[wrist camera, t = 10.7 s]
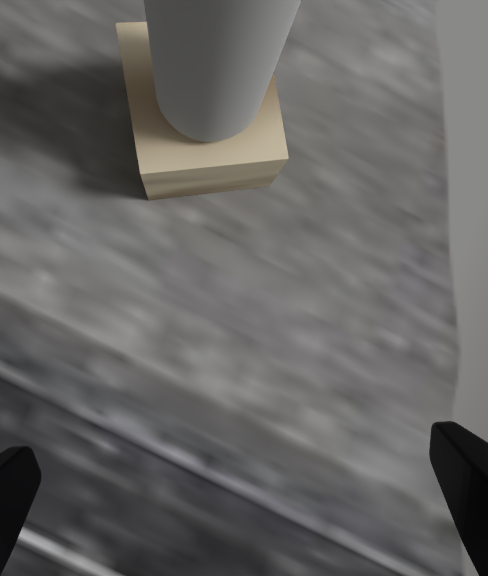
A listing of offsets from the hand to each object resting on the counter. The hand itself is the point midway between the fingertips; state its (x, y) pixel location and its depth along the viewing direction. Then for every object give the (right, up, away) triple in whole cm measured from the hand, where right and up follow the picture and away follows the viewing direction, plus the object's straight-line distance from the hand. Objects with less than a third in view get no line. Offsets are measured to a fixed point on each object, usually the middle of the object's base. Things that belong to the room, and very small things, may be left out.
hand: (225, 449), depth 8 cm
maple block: (-2, +13, +13) cm, 18 cm away
